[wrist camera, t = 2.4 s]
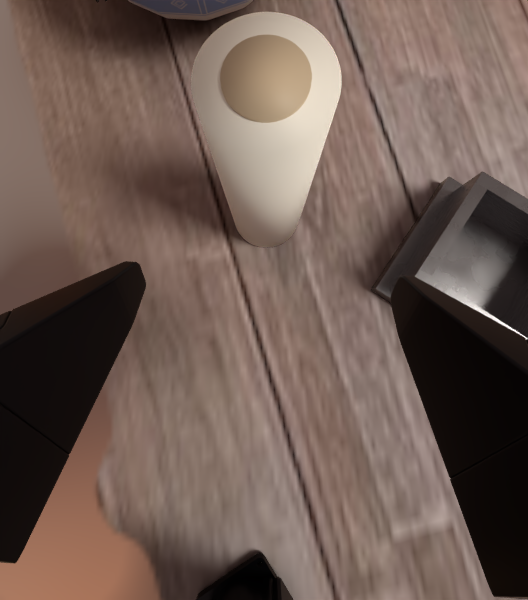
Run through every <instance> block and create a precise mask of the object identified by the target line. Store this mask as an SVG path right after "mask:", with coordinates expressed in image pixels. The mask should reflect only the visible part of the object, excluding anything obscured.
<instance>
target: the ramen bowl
mask: <svg viewBox="0 0 528 600" xmlns="http://www.w3.org/2000/svg"><path fill="white" fill-rule="evenodd" d="M96 1H97V2H99V0H96ZM105 1H107V0H105ZM128 1H129V2H131V3H133V4H135V5H137V6H139V7H142V8H144V9H146V10H149V11H151V12H153V13H156V14H158V15H160V16H163V17H165V18H169V19H188V20H210V19H213V18H216V17H219V16H222V15H225V14H228V13H231V12H234V11H237V10H240V9H243V8H245V7H246V6H247V5H248V4H250V3H251V2H252V1H254V0H128Z"/></svg>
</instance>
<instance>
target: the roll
mask: <svg viewBox="0 0 528 600" xmlns="http://www.w3.org/2000/svg"><path fill="white" fill-rule="evenodd" d="M191 91H192V97H193V101H194V104H195V107H196V110H197V113H198V116H199V119H200V122H201V125H202V128H203V131H204V134H205V137H206V140H207V143H208V146H209V149H210V152H211V155H212V158H213V161H214V164H215V167H216V170H217V173H218V175H219V178H220V181H221V184H222V187H223V190H224V193H225V196H226V199H227V202H228V205H229V208H230V211H231V214H232V217H233V220H234V223H235V226H236V228H237V231H238V232H239V234H240V235H241V236H242V238H243V239H244V240H246V241H247V242H248V243H250V244H252V245H254V246H257V247H263V248H270V247H275V246H278V245H281V244H283V243H284V242H286V241H287V240H288V239H289V238H290V237H291V236H292V235H293V234H294V232H295V231H296V228H297V226H298V223H299V220H300V217H301V214H302V211H303V208H304V205H305V202H306V198H307V195H308V192H309V189H310V186H311V183H312V180H313V177H314V174H315V171H316V168H317V165H318V162H319V159H320V156H321V153H322V150H323V147H324V144H325V141H326V138H327V135H328V131H329V128H330V125H331V122H332V119H333V116H334V113H335V110H336V107H337V104H338V101H339V97H340V93H341V70H340V65H339V62H338V58H337V56H336V54H335V52H334V50H333V48H332V46H331V45H330V43H329V42H328V41H327V39H326V38H325V37H324V36H323V35H322V34H321V33H320V32H319V31H318V30H317V29H316V28H314V27H313V26H312V25H310V24H309V23H307V22H305V21H303V20H301V19H299V18H297V17H294V16H291V15H287V14H283V13H277V12H257V13H251V14H247V15H243V16H240V17H237V18H235V19H233V20H231V21H229V22H227V23H225V24H224V25H222V26H221V27H219V28H218V29H217V30H216V31H215V32H213V33H212V34H211V35H210V36H209V38H208V39H207V40H206V41H205V42H204V44H203V45H202V47H201V48H200V50H199V52H198V54H197V56H196V58H195V61H194V64H193V68H192V74H191Z"/></svg>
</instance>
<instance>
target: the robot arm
mask: <svg viewBox="0 0 528 600" xmlns="http://www.w3.org/2000/svg"><path fill="white" fill-rule="evenodd" d="M145 288H146V282H145V278H144V275H143V273H142V270H141V267H140V265H139V263H137V262H127V261H126V262H123V263H120V264H118V265H116V266H113V267H111V268H109V269H106V270H104V271H102V272H99V273H97V274H95V275H92V276H90V277H88V278H85V279H83V280H81V281H78V282H76V283H74V284H71V285H69V286H67V287H64V288H62V289H60V290H57V291H55V292H53V293H50V294H48V295H46V296H43V297H41V298H39V299H36V300H34V301H32V302H29V303H27V304H25V305H22V306H20V307H18V308H15V309H13V310H12V311H8V312H6V313H4V314H1V315H0V562H4V563H16V562H17V560H18V559H19V557H20V555H21V553H22V551H23V550H24V548H25V546H26V543H27V541H28V539H29V537H30V535H31V533H32V531H33V529H34V527H35V525H36V523H37V521H38V519H39V517H40V515H41V513H42V511H43V509H44V506H45V504H46V502H47V500H48V498H49V496H50V494H51V492H52V490H53V488H54V486H55V484H56V482H57V480H58V478H59V475H60V474H61V472H62V469H63V467H64V465H65V463H66V461H67V459H68V457H69V454H70V453H71V451H72V448H73V446H74V444H75V442H76V440H77V438H78V436H79V434H80V432H81V429H82V428H83V426H84V424H85V422H86V420H87V417H88V415H89V414H90V411H91V409H92V407H93V405H94V403H95V401H96V399H97V397H98V395H99V393H100V391H101V389H102V387H103V385H104V383H105V381H106V379H107V376H108V374H109V372H110V370H111V368H112V366H113V364H114V362H115V360H116V358H117V356H118V354H119V352H120V350H121V348H122V346H123V344H124V341H125V339H126V337H127V335H128V333H129V331H130V329H131V327H132V325H133V322H134V320H135V317H136V314H137V311H138V308H139V306H140V303H141V300H142V297H143V294H144V291H145ZM390 302H391V306H392V310H393V315H394V319H395V324H396V328H397V332H398V336H399V339H400V342H401V345H402V348H403V351H404V353H405V356H406V359H407V362H408V364H409V367H410V370H411V373H412V375H413V378H414V381H415V384H416V386H417V389H418V392H419V395H420V397H421V400H422V403H423V406H424V408H425V411H426V414H427V417H428V419H429V422H430V425H431V428H432V430H433V433H434V436H435V439H436V441H437V444H438V447H439V450H440V453H441V455H442V458H443V461H444V464H445V466H446V469H447V472H448V475H449V477H450V478H451V479H450V481H451V483H452V486H453V489H454V492H455V494H456V497H457V500H458V503H459V505H460V508H461V511H462V514H463V516H464V519H465V522H466V525H467V527H468V530H469V533H470V536H471V538H472V541H473V544H474V547H475V549H476V552H477V555H478V558H479V560H480V563H481V566H482V569H483V571H484V574H485V577H486V580H487V582H488V585H489V587H490V590H491V592H492V594H493V596H494V597H504V598H518V599H528V339H526V338H525V337H524V336H522V335H520V334H518V333H516V332H515V331H513V330H511V329H509V328H507V327H505V326H504V325H502V324H500V323H498V322H496V321H495V320H493V319H491V318H489V317H487V316H485V315H484V314H482V313H480V312H478V311H476V310H475V309H473V308H471V307H469V306H467V305H466V304H464V303H462V302H460V301H458V300H456V299H455V298H453V297H451V296H449V295H447V294H446V293H444V292H442V291H440V290H438V289H436V288H435V287H433V286H431V285H429V284H427V283H426V282H424V281H422V280H420V279H418V278H417V277H415V276H400V277H399V278H398V280H397V282H396V284H395V287H394V289H393V291H392V293H391V296H390ZM258 561H261V562H262V563H258ZM196 600H293V598H292V596H291V595H290V593H289V591H288V590H287V588H286V586H285V585H284V583H283V581H282V580H281V578H279V577H277V576H276V574H275V572H274V571H273V569H272V567H271V566H270V564H269V562H268V561H267V559H266V557H265V556H264V555H263V554H261V553H258V554H256V555H255V556H253V557H252V558H250V559H249V560H247V561H246V562H244V563H243V564H241V565H240V566H238V567H237V568H236V569H234V570H233V571H231V572H230V573H228V574H227V575H225V576H224V577H222V578H221V579H219V580H218V581H216V582H215V583H213V584H212V585H211V586H209V587H208V588H206V589H205V590H203V591H202V592H200V593H199V594H198V596H197V599H196Z"/></svg>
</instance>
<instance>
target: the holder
mask: <svg viewBox="0 0 528 600" xmlns="http://www.w3.org/2000/svg"><path fill="white" fill-rule="evenodd" d="M400 276H415V277H417V278H418V279H420V280H422V281H424V282H426V283H427V284H429V285H431V286H433V287H435V288H436V289H438V290H440V291H442V292H444V293H446V294H447V295H449V296H451V297H453V298H455V299H456V300H458V301H460V302H462V303H464V304H466V305H467V306H469V307H471V308H473V309H475V310H476V311H478V312H480V313H482V314H484V315H485V316H487V317H489V318H491V319H493V320H495V321H496V322H498V323H500V324H502V325H504V326H505V327H507V328H509V329H511V330H513V331H515V332H516V333H518V334H520V335H522V336H524V337H525V338H526V339H528V199H527V198H525V197H524V196H522V195H520V194H519V193H517V192H515V191H514V190H512V189H511V188H509V187H507V186H506V185H504V184H502V183H501V182H499V181H498V180H496V179H494V178H493V177H491V176H489V175H488V174H486V173H484V172H481V173H480V174H478V175H477V176H475V177H474V178H472V179H471V180H469V181H468V182H467V183H465V184H464V185H462V184H460V183H459V182H457V181H455V180H454V179H452V178H451V177H448V178H447V179H445V180H444V181H443V182H441V184H440V185H439V187H438V188H437V190H436V191H435V193H434V194H433V196H432V197H431V199H430V201H429V202H428V204H427V205H426V207H425V208H424V210H423V211H422V213H421V214H420V216H419V217H418V219H417V220H416V222H415V223H414V225H413V226H412V228H411V229H410V231H409V233H408V234H407V236H406V237H405V239H404V240H403V242H402V243H401V245H400V246H399V248H398V249H397V251H396V252H395V254H394V255H393V257H392V258H391V260H390V262H389V263H388V265H387V266H386V268H385V269H384V271H383V272H382V274H381V275H380V277H379V278H378V280H377V281H376V283H375V284H374V286H373V287H372V289H371V290H372V291H373V292H375V293H376V294H378V295H379V296H381V297H383V298H384V299H386V300H387V301H389V302H390V296H391V293H392V291H393V289H394V287H395V284H396V282H397V280H398V278H399V277H400ZM390 303H391V302H390Z"/></svg>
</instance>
